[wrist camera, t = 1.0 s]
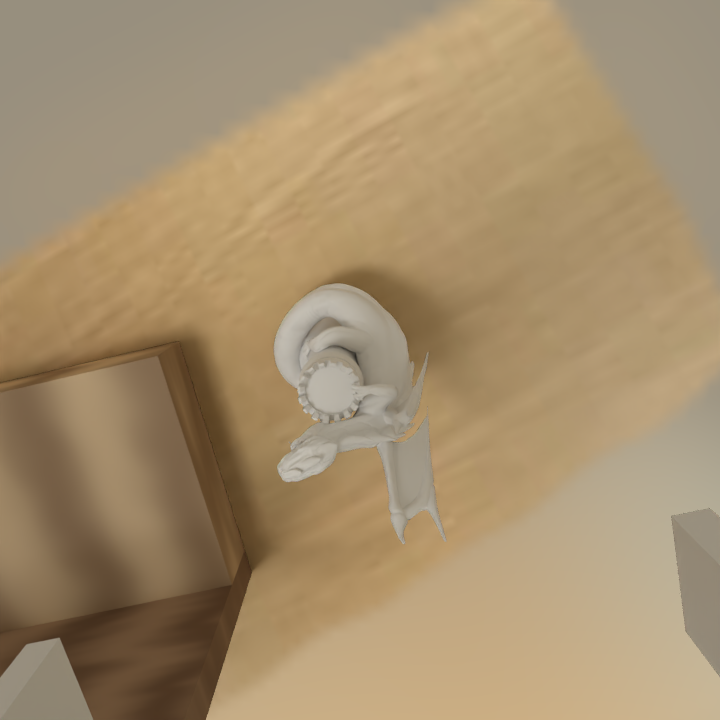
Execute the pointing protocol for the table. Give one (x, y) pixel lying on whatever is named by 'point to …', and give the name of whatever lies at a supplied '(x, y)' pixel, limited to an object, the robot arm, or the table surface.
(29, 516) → the wall shelf
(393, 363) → the figurine
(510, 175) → the table surface
